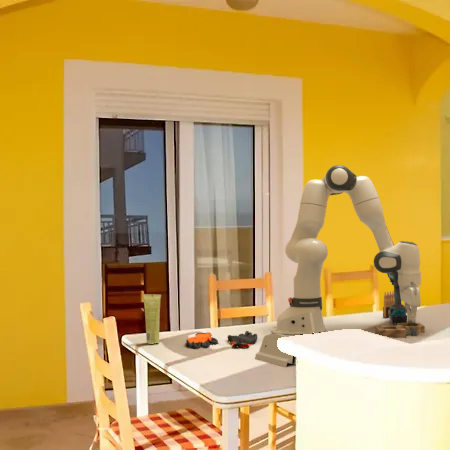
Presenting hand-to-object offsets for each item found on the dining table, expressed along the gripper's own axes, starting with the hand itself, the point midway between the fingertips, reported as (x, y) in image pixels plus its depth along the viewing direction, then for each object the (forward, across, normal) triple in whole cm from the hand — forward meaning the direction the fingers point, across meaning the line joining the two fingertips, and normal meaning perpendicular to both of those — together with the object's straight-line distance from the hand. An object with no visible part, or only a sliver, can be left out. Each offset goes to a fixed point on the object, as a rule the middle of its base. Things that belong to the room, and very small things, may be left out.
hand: (410, 315), depth 253 cm
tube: (+6, -15, +103) cm, 105 cm away
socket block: (+6, -9, +10) cm, 15 cm away
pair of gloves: (+6, -15, +76) cm, 78 cm away
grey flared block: (+6, -49, +55) cm, 74 cm away
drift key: (+6, -9, +5) cm, 12 cm away
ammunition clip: (+7, +36, 0) cm, 37 cm away
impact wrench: (+7, +21, +1) cm, 22 cm away
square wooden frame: (+6, 0, 0) cm, 6 cm away
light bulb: (+6, 0, 0) cm, 6 cm away
